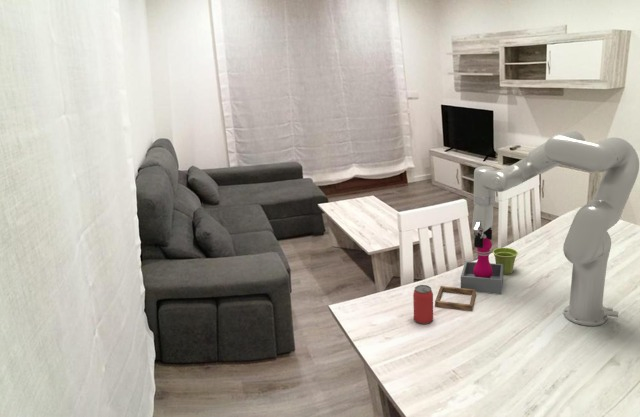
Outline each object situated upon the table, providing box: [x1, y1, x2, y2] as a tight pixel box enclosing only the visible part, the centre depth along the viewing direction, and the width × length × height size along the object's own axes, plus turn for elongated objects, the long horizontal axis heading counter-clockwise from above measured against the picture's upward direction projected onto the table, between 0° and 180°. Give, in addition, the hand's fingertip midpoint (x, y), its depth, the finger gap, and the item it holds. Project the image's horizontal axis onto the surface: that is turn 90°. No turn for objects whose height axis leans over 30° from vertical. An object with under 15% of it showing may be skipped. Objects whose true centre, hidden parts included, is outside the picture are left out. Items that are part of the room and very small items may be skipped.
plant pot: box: [492, 247, 518, 275], centre depth 197 cm, size 9×9×9 cm
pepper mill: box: [473, 234, 493, 278], centre depth 186 cm, size 7×7×20 cm
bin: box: [460, 260, 504, 295], centre depth 188 cm, size 15×15×6 cm
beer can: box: [412, 284, 434, 325], centre depth 166 cm, size 7×7×12 cm
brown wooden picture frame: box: [434, 285, 477, 312], centre depth 178 cm, size 13×13×2 cm
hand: (483, 243), depth 184 cm, fingers open, 9 cm apart
